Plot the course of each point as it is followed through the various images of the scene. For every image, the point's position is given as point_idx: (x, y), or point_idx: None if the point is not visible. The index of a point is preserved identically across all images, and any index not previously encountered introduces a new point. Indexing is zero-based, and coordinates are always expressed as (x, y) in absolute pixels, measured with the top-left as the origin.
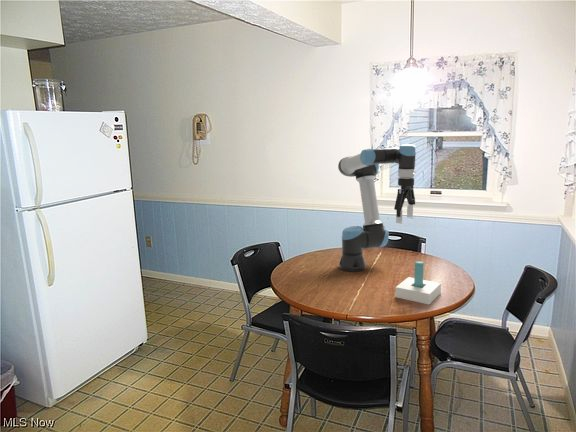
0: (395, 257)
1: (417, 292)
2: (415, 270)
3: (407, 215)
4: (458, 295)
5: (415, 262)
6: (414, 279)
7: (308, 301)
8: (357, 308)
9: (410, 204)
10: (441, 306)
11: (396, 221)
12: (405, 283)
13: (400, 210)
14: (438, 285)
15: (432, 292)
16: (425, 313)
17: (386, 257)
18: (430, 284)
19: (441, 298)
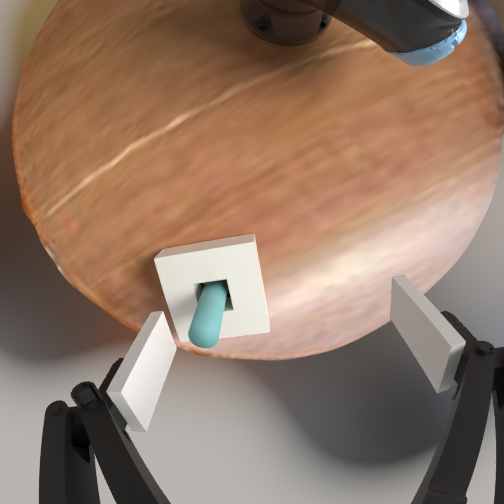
0: (449, 78)
1: (171, 315)
2: (193, 316)
3: (398, 287)
4: (284, 346)
5: (196, 325)
6: (201, 297)
7: (25, 122)
8: (61, 221)
9: (459, 366)
10: None
11: (148, 322)
12: (197, 264)
13: (125, 420)
14: (248, 334)
15: None
16: None
17: None
18: (241, 317)
19: None
